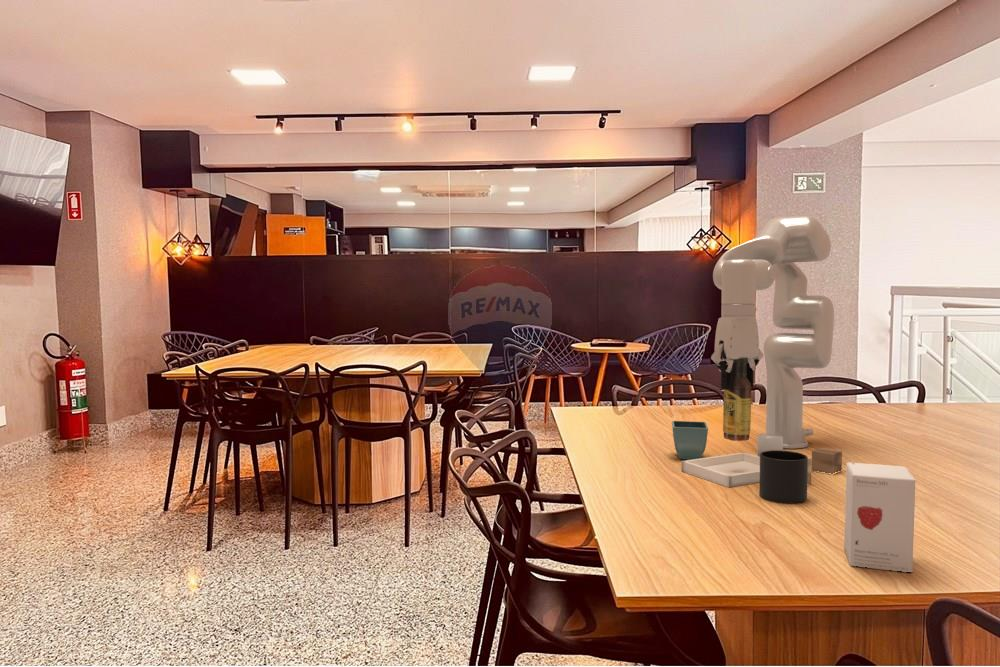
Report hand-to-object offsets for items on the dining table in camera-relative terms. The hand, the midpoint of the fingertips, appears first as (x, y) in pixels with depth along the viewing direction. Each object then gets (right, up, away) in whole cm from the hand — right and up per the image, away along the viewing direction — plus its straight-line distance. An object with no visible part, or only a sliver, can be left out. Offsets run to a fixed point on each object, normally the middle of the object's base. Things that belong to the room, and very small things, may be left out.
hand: (737, 387), depth 167 cm
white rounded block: (+12, -20, +11) cm, 26 cm away
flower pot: (-7, -20, +18) cm, 28 cm away
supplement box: (+5, -24, -53) cm, 58 cm away
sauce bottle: (0, -13, +1) cm, 13 cm away
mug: (+4, -22, -17) cm, 28 cm away
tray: (0, -21, +1) cm, 21 cm away
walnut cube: (+23, -21, +3) cm, 31 cm away
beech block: (+12, -21, -7) cm, 25 cm away
